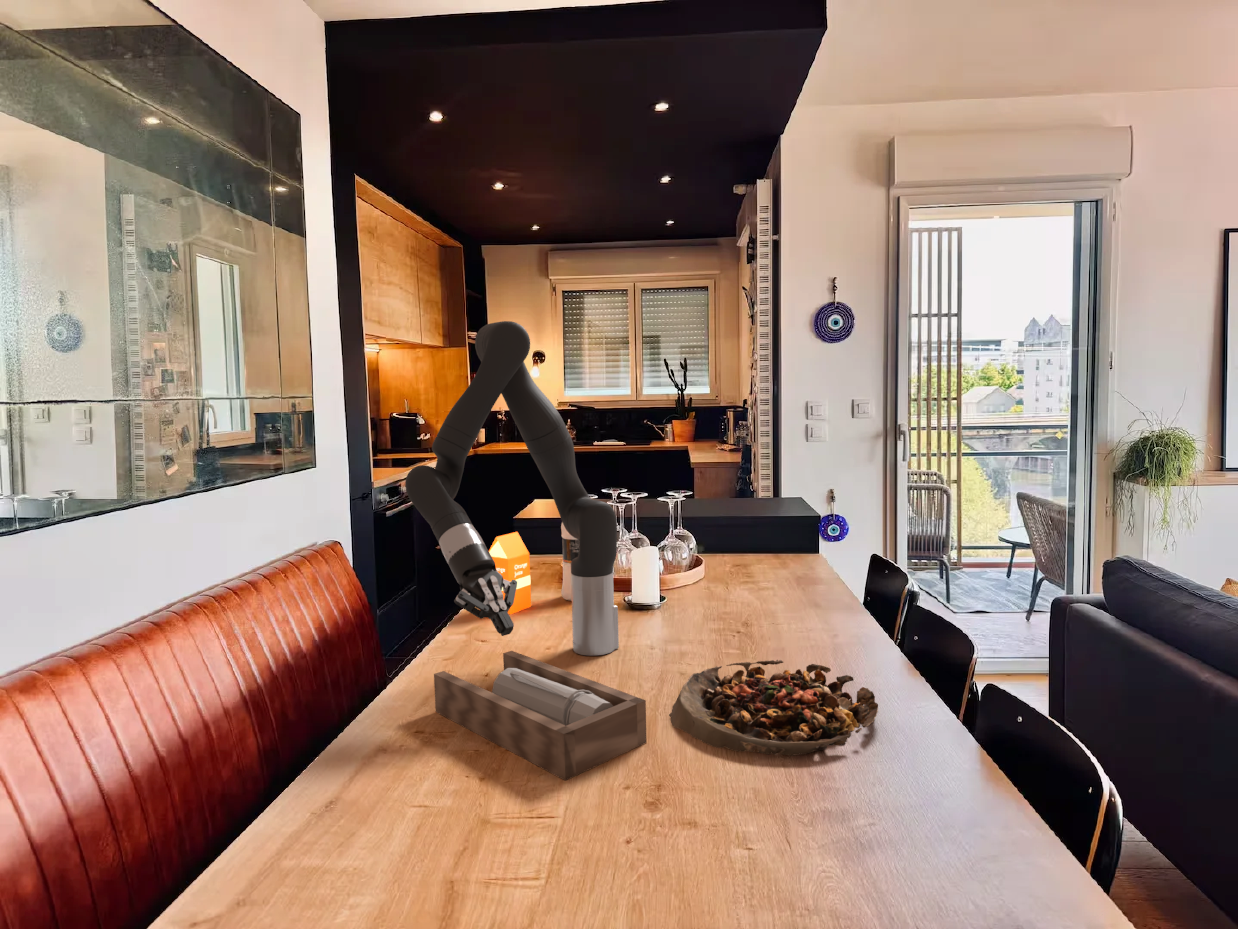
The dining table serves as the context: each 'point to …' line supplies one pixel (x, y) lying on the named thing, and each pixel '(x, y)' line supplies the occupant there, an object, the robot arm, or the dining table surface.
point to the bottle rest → (545, 720)
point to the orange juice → (513, 567)
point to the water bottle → (547, 696)
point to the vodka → (568, 561)
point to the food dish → (771, 710)
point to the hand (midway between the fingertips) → (508, 632)
